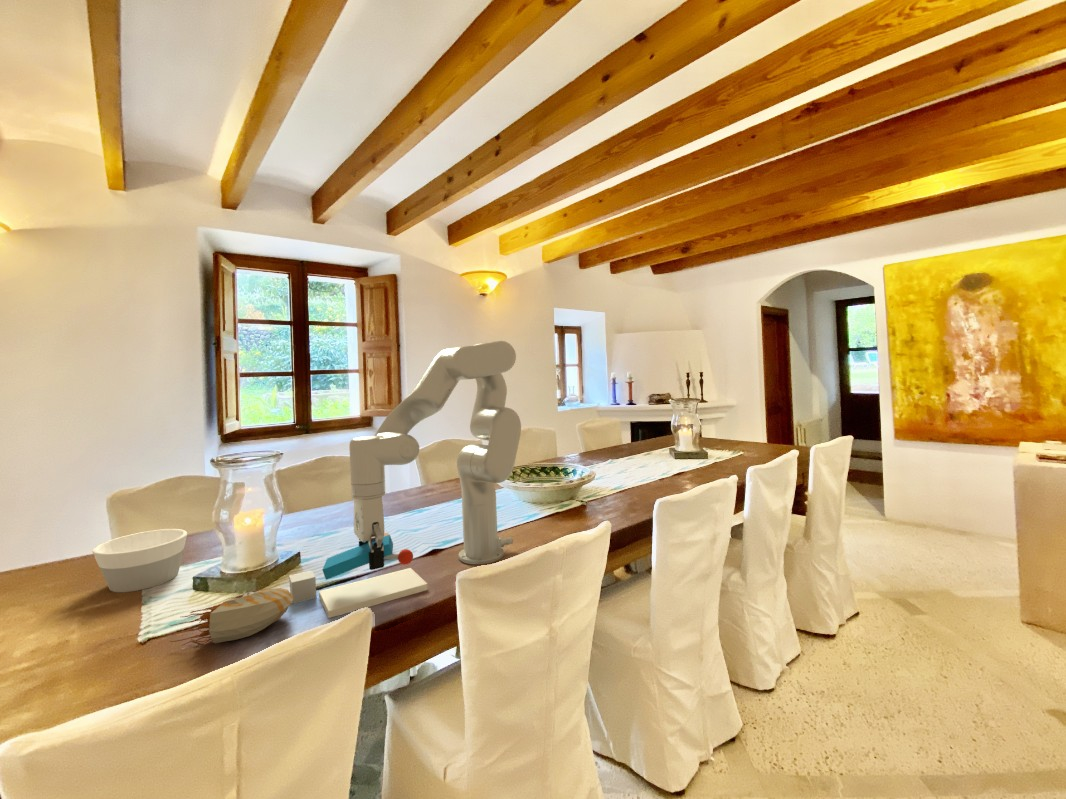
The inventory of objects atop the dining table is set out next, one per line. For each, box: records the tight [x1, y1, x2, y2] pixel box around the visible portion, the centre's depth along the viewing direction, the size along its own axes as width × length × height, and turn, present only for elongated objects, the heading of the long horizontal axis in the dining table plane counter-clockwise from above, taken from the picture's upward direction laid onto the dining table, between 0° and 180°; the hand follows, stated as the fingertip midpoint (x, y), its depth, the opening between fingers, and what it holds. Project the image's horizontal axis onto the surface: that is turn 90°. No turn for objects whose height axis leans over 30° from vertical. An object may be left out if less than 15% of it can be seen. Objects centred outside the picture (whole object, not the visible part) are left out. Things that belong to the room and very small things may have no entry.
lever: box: [322, 534, 414, 581], centre depth 112 cm, size 7×7×19 cm
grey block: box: [288, 569, 317, 604], centre depth 112 cm, size 5×5×5 cm
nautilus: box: [169, 587, 293, 648], centre depth 97 cm, size 8×22×15 cm
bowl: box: [91, 528, 188, 593], centre depth 125 cm, size 19×19×11 cm
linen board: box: [318, 567, 428, 619], centre depth 113 cm, size 22×12×2 cm, turn 123°
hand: (371, 561), depth 112 cm, fingers closed on lever, 8 cm apart
